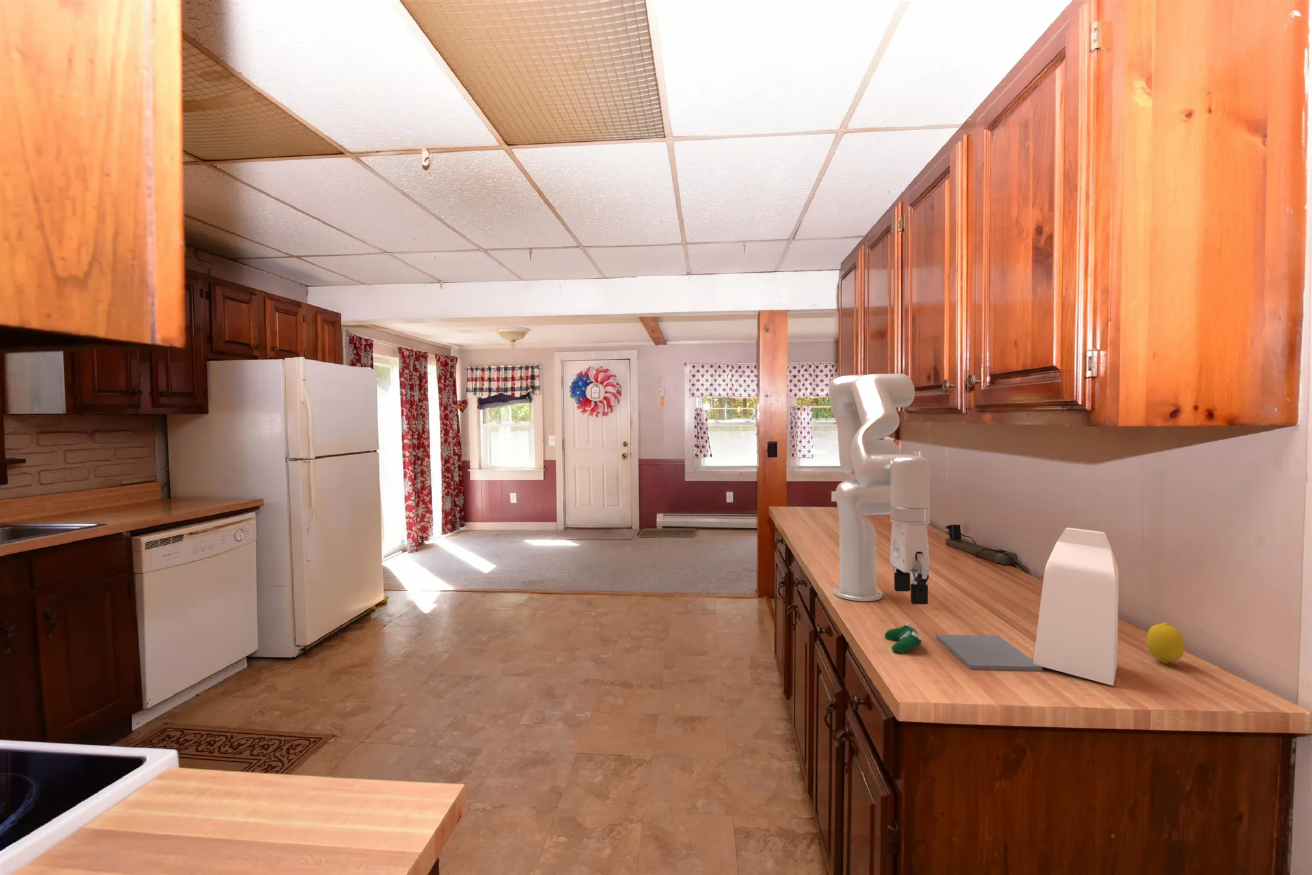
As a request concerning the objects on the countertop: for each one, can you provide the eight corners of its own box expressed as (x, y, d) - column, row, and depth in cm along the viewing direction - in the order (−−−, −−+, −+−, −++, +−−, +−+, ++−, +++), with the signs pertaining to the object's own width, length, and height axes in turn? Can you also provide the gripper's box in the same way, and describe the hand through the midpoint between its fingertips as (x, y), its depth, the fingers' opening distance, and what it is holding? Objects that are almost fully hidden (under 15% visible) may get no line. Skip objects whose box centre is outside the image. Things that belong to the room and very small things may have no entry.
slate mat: (936, 637, 125) (936, 634, 125) (998, 639, 124) (998, 635, 124) (970, 669, 109) (970, 665, 109) (1042, 670, 108) (1042, 666, 108)
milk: (1032, 663, 109) (1042, 528, 108) (1042, 647, 118) (1051, 522, 117) (1113, 685, 101) (1124, 539, 100) (1117, 666, 110) (1127, 531, 109)
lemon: (1139, 660, 113) (1140, 619, 113) (1156, 655, 115) (1157, 616, 115) (1173, 671, 108) (1174, 629, 107) (1190, 666, 110) (1191, 625, 109)
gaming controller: (904, 663, 117) (927, 644, 116) (890, 649, 117) (913, 630, 116) (895, 646, 126) (916, 628, 125) (882, 633, 126) (903, 615, 125)
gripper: (878, 510, 129) (879, 586, 129) (906, 521, 112) (906, 609, 112) (913, 510, 128) (913, 586, 128) (946, 521, 111) (946, 609, 111)
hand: (910, 597), depth 120 cm, fingers open, 9 cm apart
